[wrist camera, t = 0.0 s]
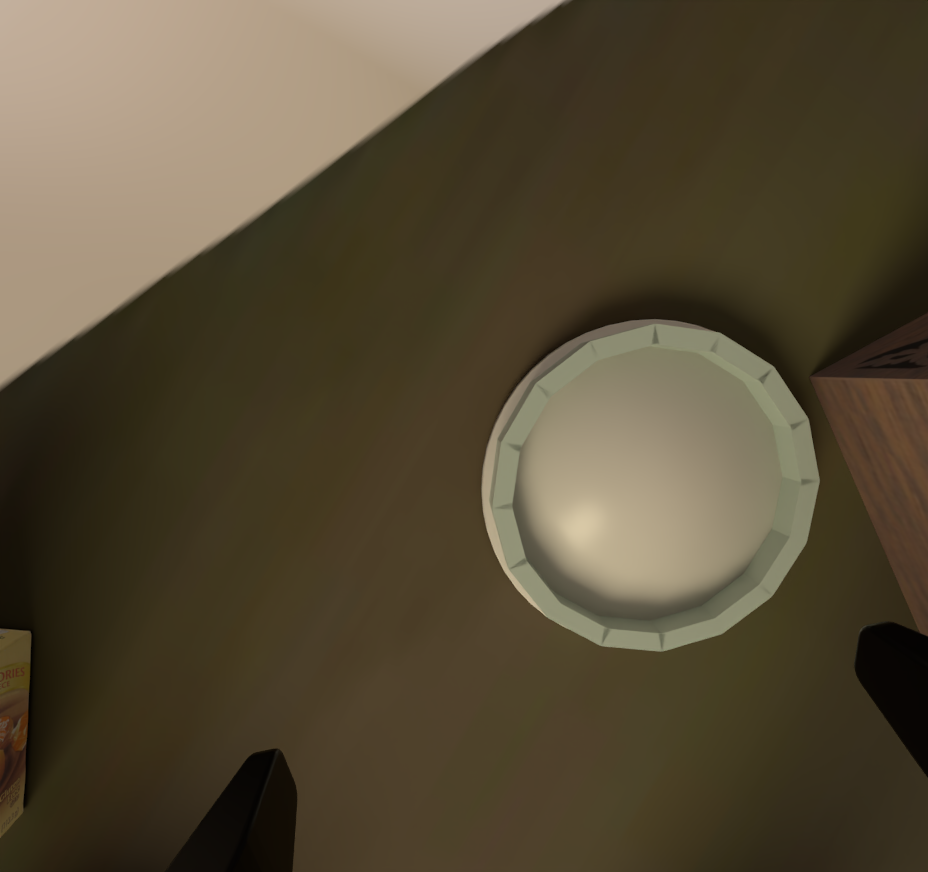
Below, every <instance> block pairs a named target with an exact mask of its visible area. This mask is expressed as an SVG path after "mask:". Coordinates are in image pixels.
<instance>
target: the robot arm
mask: <svg viewBox="0 0 928 872" xmlns="http://www.w3.org/2000/svg"><path fill="white" fill-rule="evenodd" d="M854 667H855V672H856V675H857V677H858V679H859V681H860V683H861V684H862V686H863V687H864V689H865V690H866V691H867V693H868V694H869V696H870V697H871V698H872V700H873V701H874V703H875V704H876V706H877V707H878V708H879V710H880V711H881V713H882V714H883V715H884V717H885V718H886V720H887V721H888V723H889V724H890V725H891V727H892V728H893V730H894V731H895V732H896V734H897V735H898V737H899V738H900V739H901V741H902V742H903V744H904V745H905V747H906V748H907V749H908V751H909V752H910V754H911V755H912V756H913V758H914V759H915V761H916V762H917V764H918V765H919V766H920V768H921V769H922V770H923V772H924V773H925V774H926V776H927V777H928V636H926V635H924V634H921V633H919V632H916V631H914V630H912V629H909V628H907V627H904V626H902V625H900V624H897V623H894V622H889V621H885V622H879V623H875V624H870V625H866V626H863V627H862V628H861V630H860V632H859V637H858V643H857V649H856V656H855V662H854ZM296 812H297V789H296V785H295V782H294V779H293V777H292V774H291V772H290V770H289V767H288V765H287V762H286V760H285V757H284V755H283V753H282V751H281V750H279V749H270V750H265V751H260V752H256V753H253V754H252V755H250V756H249V757H248V758H247V759H246V761H245V762H244V764H243V765H242V766H241V768H240V769H239V770H238V772H237V773H236V775H235V776H234V777H233V779H232V780H231V781H230V783H229V784H228V786H227V787H226V788H225V790H224V791H223V792H222V794H221V795H220V797H219V798H218V799H217V801H216V802H215V803H214V805H213V806H212V808H211V809H210V810H209V812H208V813H207V814H206V816H205V817H204V819H203V820H202V821H201V823H200V824H199V825H198V827H197V828H196V830H195V831H194V832H193V834H192V835H191V836H190V838H189V839H188V841H187V842H186V843H185V845H184V846H183V847H182V849H181V850H180V852H179V853H178V854H177V856H176V857H175V858H174V860H173V861H172V863H171V864H170V865H169V867H168V868H167V869H166V871H165V872H292V870H293V856H294V841H295V826H296Z"/></svg>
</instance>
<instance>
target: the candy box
mask: <svg viewBox="0 0 928 872" xmlns="http://www.w3.org/2000/svg"><path fill="white" fill-rule="evenodd" d="M30 661H31V632H30V631H23V630H13V629H0V837H1V836H2V835H3V834H4V833H5V832H6V831H7V830H8V829H9V828H10V826H11V825H12V824H13V823H14V822H15V821H16V820H17V819H18V818H19V816H20V815H21V814H22V813H23V799H24V789H25V773H26V765H25V762H26V742H27V730H28V702H29V684H30Z"/></svg>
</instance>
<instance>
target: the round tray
mask: <svg viewBox="0 0 928 872" xmlns="http://www.w3.org/2000/svg"><path fill="white" fill-rule="evenodd" d="M819 482H820V480H819V474H818V468H817V463H816V457H815V452H814V446H813V441H812V435H811V429H810V424H809V419H808V417H807V416H806V414H805V413H804V411H803V410H802V408H801V407H800V405H799V404H798V402H797V401H796V399H795V398H794V396H793V395H792V393H791V392H790V390H789V389H788V387H787V386H786V384H785V383H784V381H783V380H782V378H781V377H780V375H779V374H778V372H777V370H776V369H775V367H774V366H772V365H771V364H769V363H767V362H766V361H764V360H763V359H761V358H759V357H758V356H756V355H755V354H753V353H751V352H750V351H748V350H747V349H745V348H744V347H742V346H740V345H739V344H737V343H736V342H734V341H732V340H731V339H729V338H728V337H726V336H725V335H723V334H721V333H719V332H714V331H711V330H709V329H706V328H703V327H700V326H698V325H694V324H689V323H684V322H680V321H673V320H660V319H648V320H632V321H627V322H622V323H617V324H612V325H608V326H604V327H601V328H598V329H596V330H593V331H590V332H587V333H584V334H582V335H580V336H578V337H576V338H574V339H572V340H570V341H568V342H566V343H564V344H563V345H562V346H560V347H559V348H557V349H556V350H554V351H553V352H551V353H550V354H548V355H547V356H546V357H544V358H543V359H542V360H541V361H540V362H539V363H538V364H537V365H535V366H534V367H533V368H532V369H531V370H530V371H529V372H528V373H527V374H526V376H525V377H524V378H523V379H522V380H521V381H520V382H519V384H518V385H517V386H516V387H515V389H514V390H513V392H512V393H511V395H510V396H509V398H508V399H507V400H506V402H505V403H504V405H503V407H502V409H501V411H500V413H499V415H498V417H497V419H496V421H495V423H494V425H493V428H492V431H491V434H490V437H489V440H488V443H487V446H486V451H485V456H484V461H483V466H482V480H481V496H482V509H483V514H484V519H485V524H486V529H487V532H488V535H489V538H490V540H491V543H492V546H493V549H494V552H495V554H496V556H497V558H498V560H499V562H500V564H501V566H502V568H503V570H504V571H505V573H506V574H507V576H508V577H509V579H510V580H511V582H512V583H513V584H514V586H515V587H516V589H517V590H518V591H519V592H520V593H521V594H522V595H523V596H524V597H525V598H526V599H527V600H528V602H529V603H531V604H532V605H533V606H534V607H535V608H537V609H538V610H539V611H540V612H541V613H543V614H544V615H545V616H546V617H547V618H549V619H551V620H553V621H555V622H556V623H558V624H560V625H561V626H563V627H565V628H567V629H570V630H572V631H574V632H576V633H577V634H579V635H581V636H583V637H585V638H587V639H589V640H591V641H593V642H594V643H596V644H598V645H600V646H606V647H617V648H628V649H639V650H650V651H661V652H662V651H666V650H669V649H673V648H676V647H679V646H683V645H686V644H690V643H693V642H696V641H700V640H703V639H707V638H710V637H714V636H717V635H720V634H723V633H724V632H725V631H727V630H728V629H729V628H731V627H732V626H733V625H735V624H736V623H737V622H739V621H740V620H741V619H743V618H744V617H745V616H747V615H748V614H749V613H751V612H752V611H753V610H755V609H756V608H757V607H759V606H760V605H761V604H763V603H764V602H765V601H767V600H768V599H769V598H771V597H772V596H773V594H774V593H775V591H776V590H777V588H778V587H779V585H780V584H781V582H782V580H783V579H784V577H785V576H786V574H787V573H788V571H789V570H790V568H791V566H792V565H793V563H794V562H795V560H796V559H797V557H798V556H799V554H800V552H801V551H802V549H803V548H804V546H805V545H806V543H807V539H808V534H809V530H810V525H811V520H812V515H813V510H814V506H815V501H816V496H817V491H818V487H819Z"/></svg>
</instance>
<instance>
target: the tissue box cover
mask: <svg viewBox="0 0 928 872" xmlns="http://www.w3.org/2000/svg"><path fill="white" fill-rule="evenodd" d="M809 378H810V380H811V382H812V385H813V387H814V389H815V392H816V394H817V396H818V399H819V401H820V403H821V406H822V408H823V410H824V412H825V415H826V417H827V419H828V422H829V424H830V426H831V429H832V431H833V433H834V436H835V438H836V440H837V442H838V445H839V447H840V449H841V452H842V454H843V456H844V459H845V461H846V463H847V466H848V468H849V470H850V472H851V475H852V477H853V479H854V482H855V484H856V486H857V489H858V491H859V493H860V496H861V498H862V500H863V502H864V505H865V507H866V509H867V512H868V514H869V516H870V519H871V521H872V523H873V526H874V528H875V530H876V532H877V535H878V537H879V539H880V542H881V544H882V546H883V549H884V551H885V553H886V556H887V558H888V560H889V562H890V565H891V567H892V569H893V572H894V574H895V576H896V579H897V581H898V583H899V586H900V588H901V590H902V592H903V595H904V597H905V599H906V602H907V604H908V606H909V609H910V611H911V613H912V616H913V618H914V620H915V622H916V625H917V627H918V629H919V632H920V633H921V634H924V635H926V636H928V313H926V314H924V315H922V316H920V317H918V318H917V319H915V320H913V321H911V322H909V323H907V324H905V325H904V326H902V327H900V328H898V329H896V330H894V331H893V332H891V333H889V334H887V335H885V336H883V337H882V338H880V339H878V340H876V341H874V342H872V343H871V344H869V345H867V346H865V347H863V348H861V349H859V350H858V351H856V352H854V353H852V354H850V355H848V356H847V357H845V358H843V359H841V360H839V361H837V362H836V363H834V364H832V365H830V366H828V367H826V368H825V369H823V370H821V371H819V372H817V373H815V374H813V375H812V376H810V377H809Z"/></svg>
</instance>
